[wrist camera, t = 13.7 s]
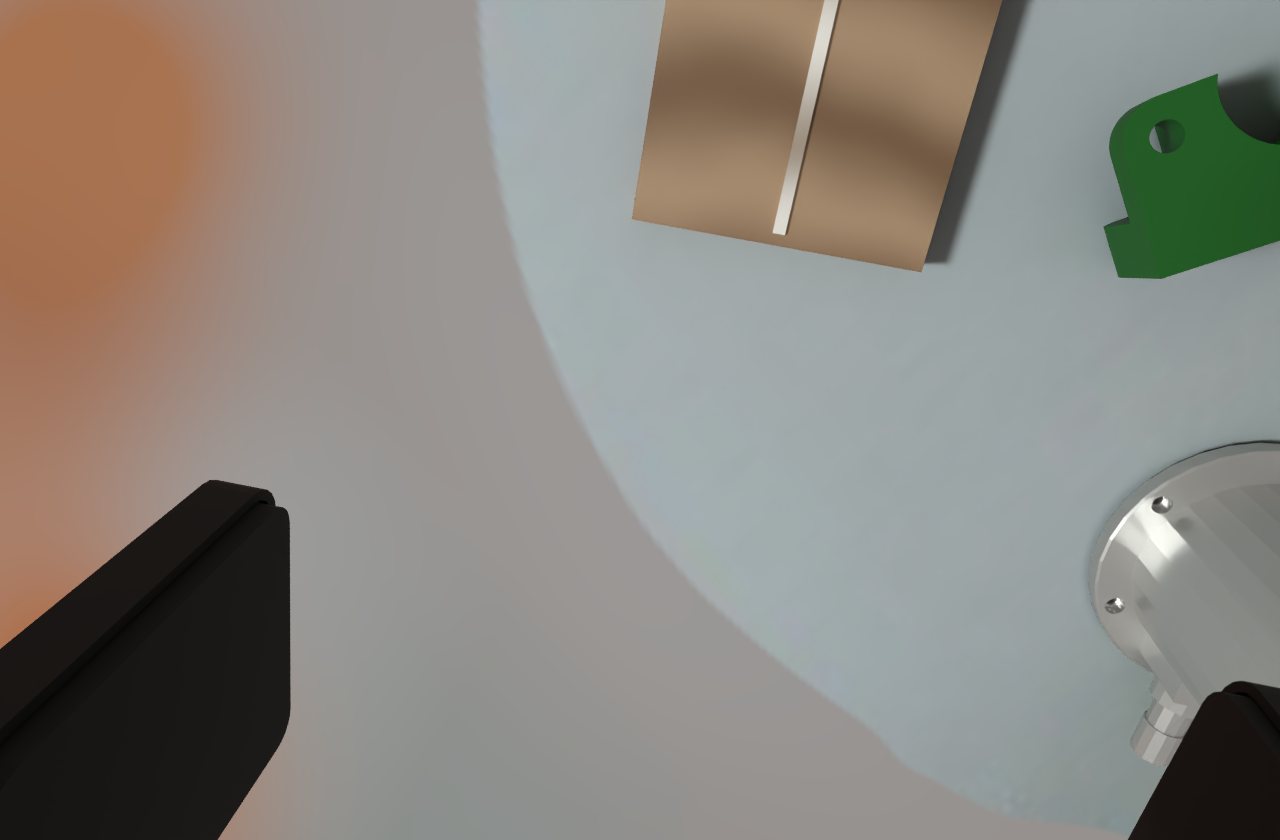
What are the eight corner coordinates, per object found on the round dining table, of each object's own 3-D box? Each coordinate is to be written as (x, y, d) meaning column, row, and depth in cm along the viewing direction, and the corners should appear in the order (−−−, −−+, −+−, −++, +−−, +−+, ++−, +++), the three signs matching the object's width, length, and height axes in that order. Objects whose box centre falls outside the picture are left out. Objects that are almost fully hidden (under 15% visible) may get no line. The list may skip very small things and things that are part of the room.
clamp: (1270, 64, 36) (1529, -41, 28) (1308, 202, 37) (1572, 142, 28) (1027, 149, 34) (1220, 65, 26) (1070, 293, 35) (1274, 260, 26)
